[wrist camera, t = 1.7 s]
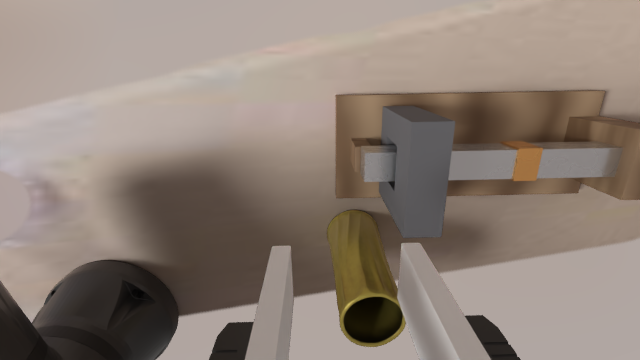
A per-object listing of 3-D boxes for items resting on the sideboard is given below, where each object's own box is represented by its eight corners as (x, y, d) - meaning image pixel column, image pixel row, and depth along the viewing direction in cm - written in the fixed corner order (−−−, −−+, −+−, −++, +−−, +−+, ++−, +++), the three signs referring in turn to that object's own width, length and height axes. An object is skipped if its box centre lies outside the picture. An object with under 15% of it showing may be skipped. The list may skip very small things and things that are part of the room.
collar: (378, 191, 34) (403, 237, 25) (382, 106, 31) (411, 122, 22) (406, 191, 34) (441, 237, 25) (413, 105, 31) (455, 121, 22)
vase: (388, 226, 38) (428, 312, 25) (357, 263, 40) (380, 363, 26) (346, 200, 37) (365, 275, 23) (317, 239, 38) (318, 331, 25)
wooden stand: (335, 194, 37) (342, 232, 28) (335, 95, 33) (343, 103, 24) (569, 189, 37) (646, 225, 28) (595, 90, 33) (691, 97, 25)
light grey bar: (360, 173, 30) (364, 184, 28) (360, 144, 30) (365, 151, 27) (588, 169, 31) (615, 178, 28) (596, 139, 30) (625, 146, 27)
